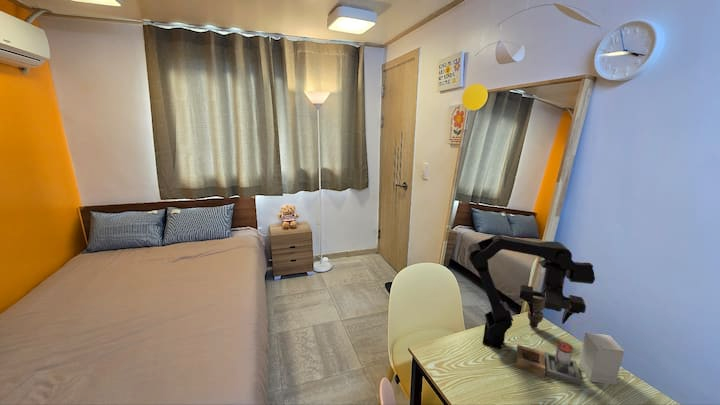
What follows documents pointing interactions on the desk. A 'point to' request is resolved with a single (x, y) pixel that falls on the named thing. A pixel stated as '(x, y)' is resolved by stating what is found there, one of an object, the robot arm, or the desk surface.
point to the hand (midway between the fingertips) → (546, 319)
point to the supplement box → (600, 358)
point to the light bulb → (536, 312)
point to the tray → (569, 377)
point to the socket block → (529, 365)
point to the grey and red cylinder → (563, 357)
